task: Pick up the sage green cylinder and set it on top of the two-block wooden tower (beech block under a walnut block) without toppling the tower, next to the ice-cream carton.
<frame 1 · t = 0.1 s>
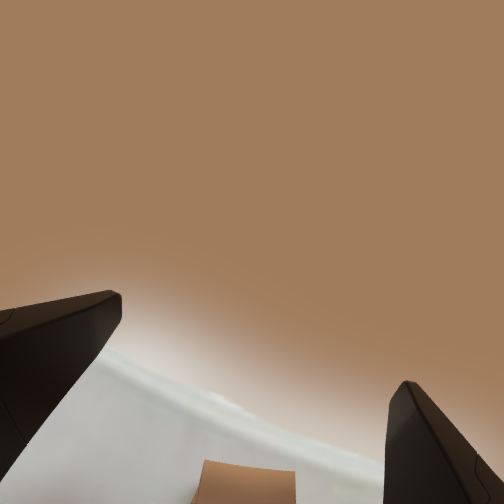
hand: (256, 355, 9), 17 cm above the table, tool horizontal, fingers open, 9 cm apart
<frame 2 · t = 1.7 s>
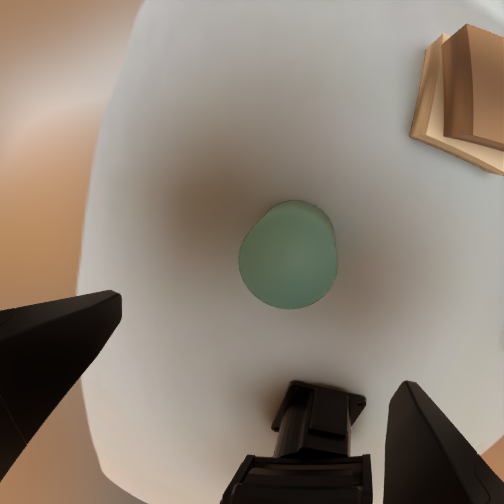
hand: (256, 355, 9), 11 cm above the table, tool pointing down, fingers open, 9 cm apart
tower base: (460, 110, 14), on the table, touching tower top
tower top: (483, 100, 11), point 3 cm above the table, touching tower base
sage green cylinder: (295, 238, 19), on the table
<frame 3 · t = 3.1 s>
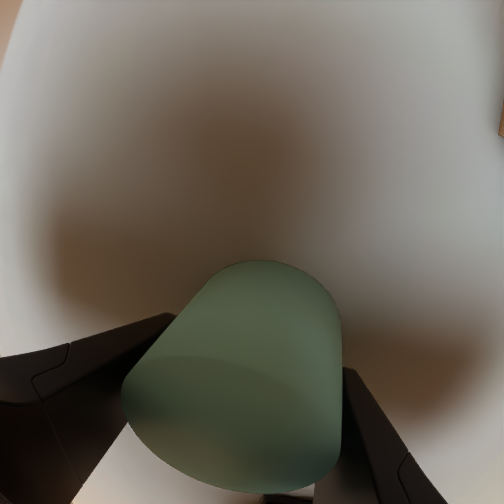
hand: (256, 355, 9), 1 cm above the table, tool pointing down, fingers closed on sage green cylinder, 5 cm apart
sage green cylinder: (264, 331, 10), on the table, touching gripper
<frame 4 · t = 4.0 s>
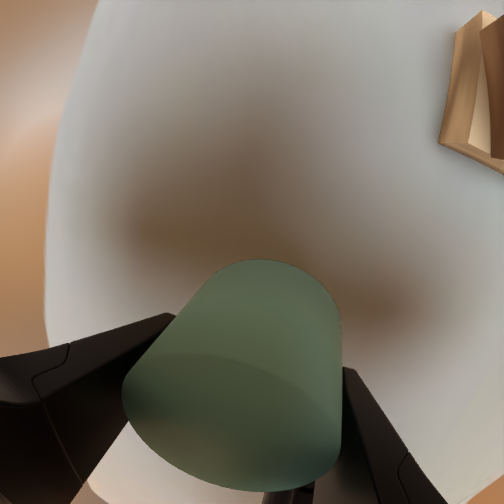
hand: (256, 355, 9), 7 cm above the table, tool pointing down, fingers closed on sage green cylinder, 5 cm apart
tower base: (497, 110, 10), on the table, touching tower top
sage green cylinder: (265, 330, 10), point 6 cm above the table, touching gripper
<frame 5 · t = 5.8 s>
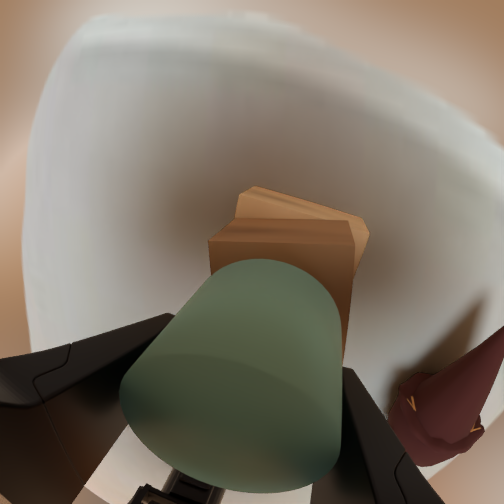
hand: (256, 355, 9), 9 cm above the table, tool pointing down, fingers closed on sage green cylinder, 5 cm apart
tower base: (294, 250, 18), on the table, touching tower top
tower top: (291, 272, 14), point 3 cm above the table, touching tower base
sage green cylinder: (264, 330, 10), point 8 cm above the table, touching gripper
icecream: (428, 381, 18), on the table
when the fingers open (9 cm above the table, at t = 6.0 s): sage green cylinder drops 2 cm, resting on tower top.
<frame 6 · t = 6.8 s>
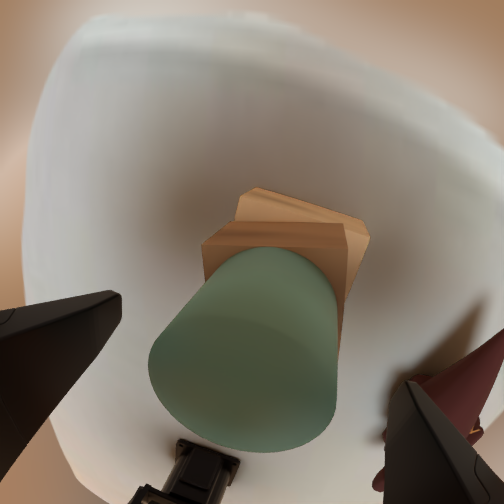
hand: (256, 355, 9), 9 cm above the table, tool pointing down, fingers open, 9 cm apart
tower base: (294, 252, 18), on the table
tower top: (286, 275, 14), point 3 cm above the table, touching sage green cylinder
sage green cylinder: (270, 310, 11), point 7 cm above the table, touching tower top
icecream: (427, 383, 18), on the table
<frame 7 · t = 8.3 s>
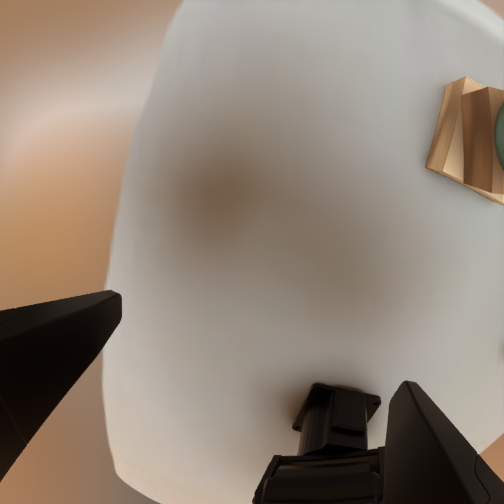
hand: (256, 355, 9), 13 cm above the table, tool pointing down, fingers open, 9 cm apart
tower base: (471, 143, 16), on the table, touching tower top
tower top: (497, 143, 13), point 3 cm above the table, touching sage green cylinder, tower base
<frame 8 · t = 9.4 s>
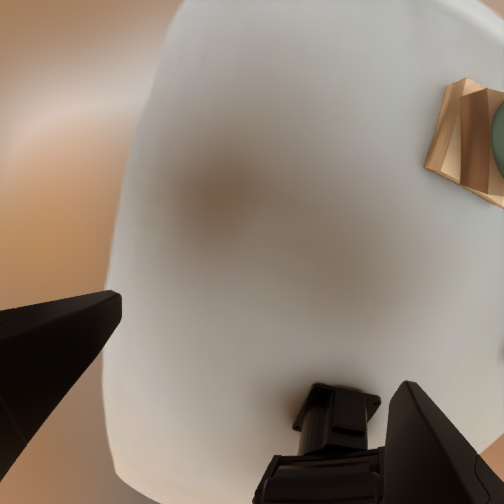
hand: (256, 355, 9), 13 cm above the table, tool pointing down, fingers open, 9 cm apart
tower base: (471, 145, 16), on the table, touching tower top
tower top: (495, 146, 13), point 3 cm above the table, touching sage green cylinder, tower base
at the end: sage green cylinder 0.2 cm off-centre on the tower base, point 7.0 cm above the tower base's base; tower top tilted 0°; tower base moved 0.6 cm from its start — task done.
